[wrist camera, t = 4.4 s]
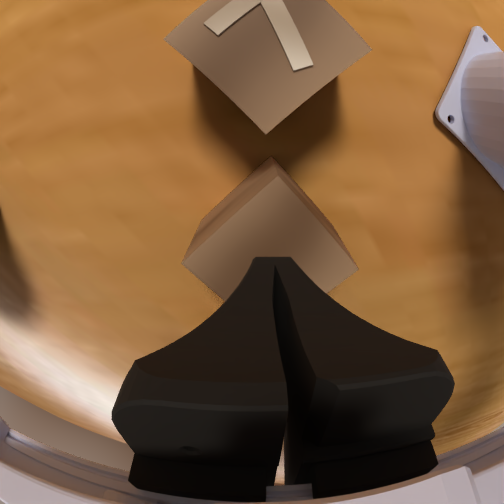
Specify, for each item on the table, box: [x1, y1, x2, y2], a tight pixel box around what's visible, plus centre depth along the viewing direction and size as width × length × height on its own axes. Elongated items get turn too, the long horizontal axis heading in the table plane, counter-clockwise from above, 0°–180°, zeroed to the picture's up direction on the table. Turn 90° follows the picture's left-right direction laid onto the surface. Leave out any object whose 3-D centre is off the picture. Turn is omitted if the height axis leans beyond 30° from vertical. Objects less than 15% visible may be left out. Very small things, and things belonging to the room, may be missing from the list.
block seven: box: [164, 0, 372, 134], centre depth 10 cm, size 5×5×5 cm
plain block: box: [181, 156, 359, 301], centre depth 14 cm, size 5×5×5 cm
